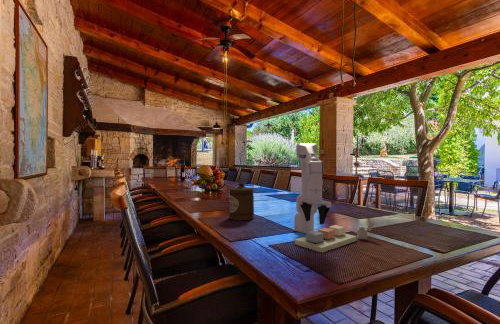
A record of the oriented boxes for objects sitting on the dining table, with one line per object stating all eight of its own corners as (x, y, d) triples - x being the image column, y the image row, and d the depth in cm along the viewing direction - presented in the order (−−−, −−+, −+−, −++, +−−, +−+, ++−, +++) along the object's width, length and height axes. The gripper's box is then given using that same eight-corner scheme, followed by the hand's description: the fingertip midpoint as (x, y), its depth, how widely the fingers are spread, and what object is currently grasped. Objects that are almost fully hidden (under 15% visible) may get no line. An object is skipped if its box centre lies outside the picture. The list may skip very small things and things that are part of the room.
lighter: (357, 238, 127) (357, 221, 127) (357, 237, 129) (357, 220, 128) (374, 240, 125) (374, 222, 125) (373, 238, 127) (373, 221, 127)
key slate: (306, 239, 117) (306, 232, 117) (313, 237, 120) (313, 230, 120) (315, 242, 113) (315, 235, 113) (323, 240, 116) (323, 233, 116)
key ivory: (328, 233, 127) (328, 226, 127) (335, 231, 130) (335, 225, 130) (338, 235, 123) (338, 228, 123) (344, 233, 126) (344, 227, 126)
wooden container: (226, 216, 174) (226, 181, 173) (249, 215, 178) (249, 180, 178) (232, 221, 160) (232, 183, 159) (257, 220, 164) (257, 182, 164)
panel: (294, 244, 119) (294, 239, 119) (329, 234, 135) (329, 229, 135) (321, 252, 108) (321, 247, 108) (356, 240, 124) (356, 236, 124)
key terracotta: (317, 236, 122) (317, 229, 122) (324, 234, 125) (324, 227, 125) (327, 239, 118) (327, 231, 118) (334, 236, 121) (334, 230, 121)
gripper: (295, 188, 119) (295, 220, 119) (323, 192, 108) (323, 227, 108) (305, 187, 124) (305, 218, 124) (334, 190, 112) (334, 224, 112)
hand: (314, 222), depth 116 cm, fingers open, 7 cm apart
